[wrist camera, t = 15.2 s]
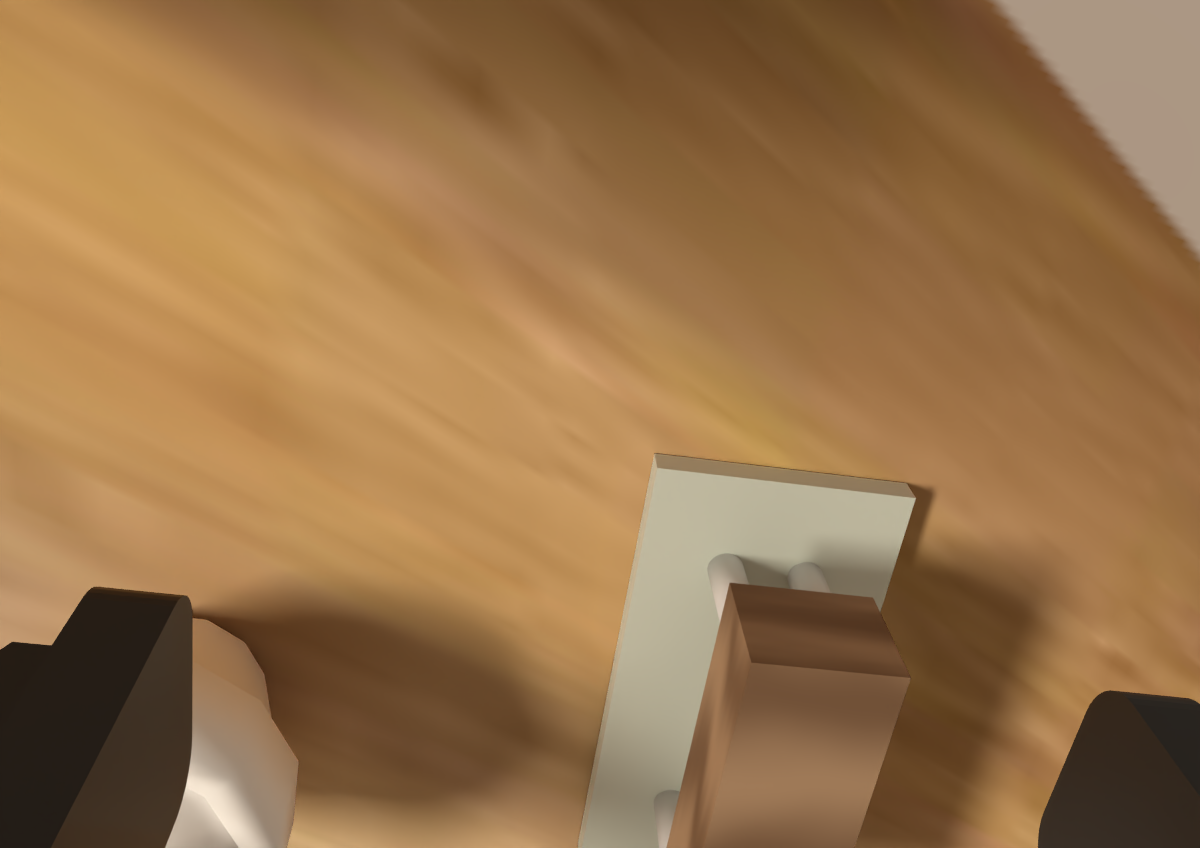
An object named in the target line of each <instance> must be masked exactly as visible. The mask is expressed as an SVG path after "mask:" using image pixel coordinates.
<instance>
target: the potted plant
mask: <svg viewBox="0 0 1200 848" xmlns="http://www.w3.org/2000/svg"><path fill="white" fill-rule="evenodd" d="M298 765H299V761H298V760H297V758H296V756H295V755H294V753H293V752H292V750H291V748H290V747H289V745H288V744H287V742H286V740H285V739H284V737H283V736H282V734H281V732H280V731H279V729H278V728H277V726H276V724H275V723H274V721H273V719H272V718H271V711H270V705H269V699H268V693H267V687H266V681H265V675H264V673H263V671H262V670H261V668H260V666H259V665H258V663H257V661H256V660H255V658H254V656H253V655H252V653H251V652H250V650H249V648H248V647H247V645H246V643H245V642H244V641H242V640H240V639H239V638H237V637H235V636H234V635H232V634H230V633H229V632H227V631H225V630H224V629H222V628H220V627H219V626H217V625H215V624H213V623H212V622H210V621H208V620H204V619H196V618H193V674H192V750H191V759H190V766H189V773H188V778H187V783H186V788H185V792H184V796H183V800H182V803H181V807H180V810H179V813H178V816H177V819H176V821H175V824H174V826H173V829H172V832H171V834H170V837H169V839H168V842H167V844H166V847H165V848H287V845H288V841H289V838H290V834H291V830H292V826H293V821H294V810H295V799H296V788H297V776H298Z"/></svg>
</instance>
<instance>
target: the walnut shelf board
mask: <svg viewBox="0 0 1200 848" xmlns="http://www.w3.org/2000/svg"><path fill="white" fill-rule="evenodd" d="M910 679H911V677H910V675H909V673H908V671H907V669H906V666H905V664H904V662H903V660H902V658H901V656H900V654H899V652H898V649H897V647H896V645H895V643H894V641H893V639H892V637H891V635H890V632H889V630H888V628H887V626H886V624H885V622H884V620H883V617H882V615H881V613H880V611H879V609H878V607H877V605H876V603H875V600H874V598H873V597H863V596H854V595H844V594H835V593H825V592H815V591H806V590H796V589H787V588H777V587H768V586H758V585H748V584H739V583H729V587H728V591H727V595H726V600H725V604H724V608H723V612H722V616H721V621H720V625H719V629H718V633H717V637H716V642H715V646H714V650H713V654H712V658H711V663H710V667H709V671H708V675H707V679H706V684H705V688H704V692H703V696H702V700H701V705H700V709H699V713H698V717H697V721H696V726H695V730H694V734H693V738H692V742H691V747H690V751H689V755H688V759H687V763H686V768H685V772H684V776H683V780H682V784H681V789H680V793H679V797H678V801H677V805H676V810H675V814H674V818H673V822H672V826H671V831H670V835H669V839H668V843H667V847H666V848H855V845H856V842H857V839H858V836H859V833H860V830H861V827H862V824H863V821H864V818H865V815H866V812H867V809H868V806H869V803H870V800H871V797H872V794H873V791H874V788H875V785H876V782H877V779H878V776H879V773H880V770H881V767H882V764H883V761H884V758H885V755H886V752H887V749H888V746H889V743H890V740H891V737H892V734H893V731H894V728H895V725H896V722H897V719H898V715H899V712H900V709H901V706H902V703H903V700H904V697H905V694H906V691H907V688H908V685H909V682H910Z"/></svg>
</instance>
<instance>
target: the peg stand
mask: <svg viewBox="0 0 1200 848" xmlns="http://www.w3.org/2000/svg"><path fill="white" fill-rule="evenodd" d="M915 499H916V498H915V496H914V494H913V493H912V491H911V490H910V488H909V486H908V485H907V483H901V482H892V481H884V480H875V479H867V478H858V477H850V476H842V475H833V474H825V473H816V472H808V471H799V470H791V469H782V468H774V467H766V466H757V465H749V464H740V463H732V462H723V461H715V460H706V459H698V458H690V457H681V456H673V455H664V454H656V453H654V458H653V463H652V468H651V473H650V479H649V484H648V489H647V494H646V499H645V504H644V509H643V514H642V519H641V524H640V529H639V535H638V540H637V545H636V550H635V555H634V560H633V565H632V570H631V575H630V580H629V585H628V591H627V596H626V601H625V606H624V611H623V616H622V621H621V626H620V631H619V636H618V641H617V647H616V652H615V657H614V662H613V667H612V672H611V677H610V682H609V687H608V692H607V697H606V703H605V708H604V713H603V718H602V723H601V728H600V733H599V738H598V743H597V748H596V753H595V759H594V764H593V769H592V774H591V779H590V784H589V789H588V794H587V799H586V804H585V809H584V815H583V820H582V825H581V830H580V835H579V840H578V848H666V847H667V843H668V839H669V835H670V831H671V826H672V822H673V818H674V814H675V810H676V805H677V801H678V797H679V793H680V789H681V784H682V780H683V776H684V772H685V768H686V763H687V759H688V755H689V751H690V747H691V742H692V738H693V734H694V730H695V726H696V721H697V717H698V713H699V709H700V705H701V700H702V696H703V692H704V688H705V684H706V679H707V675H708V671H709V667H710V663H711V658H712V654H713V650H714V646H715V642H716V637H717V633H718V629H719V625H720V621H721V616H722V612H723V608H724V604H725V600H726V595H727V591H728V587H729V583H739V584H748V585H758V586H768V587H777V588H787V589H796V590H806V591H815V592H825V593H835V594H844V595H854V596H863V597H873V598H874V600H875V603H876V605H877V607H878V609H879V611H880V612H881V608H882V605H883V602H884V599H885V596H886V592H887V589H888V586H889V583H890V580H891V576H892V573H893V570H894V567H895V564H896V560H897V557H898V554H899V551H900V547H901V544H902V541H903V538H904V535H905V531H906V528H907V525H908V522H909V519H910V515H911V512H912V509H913V506H914V503H915Z"/></svg>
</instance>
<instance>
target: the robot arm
mask: <svg viewBox="0 0 1200 848" xmlns="http://www.w3.org/2000/svg"><path fill="white" fill-rule="evenodd" d="M192 674H193V617H192V606H191V602H190V600H189V598H188V597H187V596H184V595H174V594H164V593H154V592H144V591H134V590H124V589H114V588H104V587H93V588H91V589H90V590H89V591H88V592H87V593H86V594H85V596H84V597H83V598H82V600H81V601H80V603H79V604H78V606H77V607H76V609H75V611H74V612H73V614H72V615H71V617H70V618H69V620H68V621H67V623H66V624H65V626H64V627H63V629H62V631H61V632H60V634H59V635H58V637H57V638H56V640H55V641H54V643H53V644H52V646H51V645H40V644H29V643H19V642H11V643H10V644H8V645H7V646H5V647H4V648H2V649H1V650H0V848H165V847H166V844H167V842H168V839H169V837H170V834H171V832H172V829H173V826H174V824H175V821H176V819H177V816H178V813H179V810H180V807H181V803H182V800H183V796H184V792H185V788H186V783H187V778H188V773H189V766H190V759H191V750H192ZM1038 848H1200V704H1199V703H1198V702H1196V701H1194V700H1192V699H1189V698H1180V697H1170V696H1160V695H1150V694H1140V693H1130V692H1120V691H1105V692H1103V693H1101V694H1099V695H1098V696H1097V697H1096V698H1095V699H1094V700H1093V701H1092V703H1091V704H1090V706H1089V708H1088V710H1087V712H1086V714H1085V716H1084V719H1083V721H1082V723H1081V726H1080V728H1079V730H1078V733H1077V735H1076V738H1075V740H1074V742H1073V745H1072V747H1071V749H1070V752H1069V754H1068V756H1067V759H1066V761H1065V764H1064V766H1063V768H1062V771H1061V773H1060V775H1059V778H1058V780H1057V782H1056V785H1055V787H1054V790H1053V792H1052V794H1051V797H1050V799H1049V801H1048V804H1047V806H1046V808H1045V811H1044V813H1043V816H1042V819H1041V824H1040V828H1039V837H1038Z"/></svg>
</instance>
